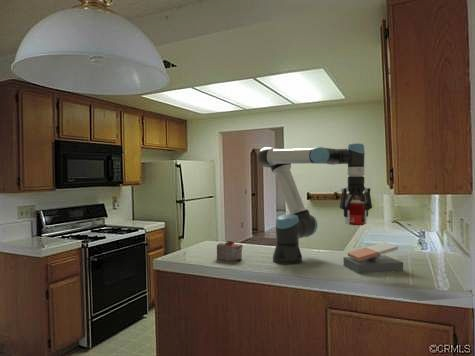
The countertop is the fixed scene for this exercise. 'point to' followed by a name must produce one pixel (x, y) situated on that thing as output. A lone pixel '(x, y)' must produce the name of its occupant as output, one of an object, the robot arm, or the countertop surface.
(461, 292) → the countertop surface
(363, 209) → the canned food
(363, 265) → the switch base
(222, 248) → the food item
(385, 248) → the rocker switch
